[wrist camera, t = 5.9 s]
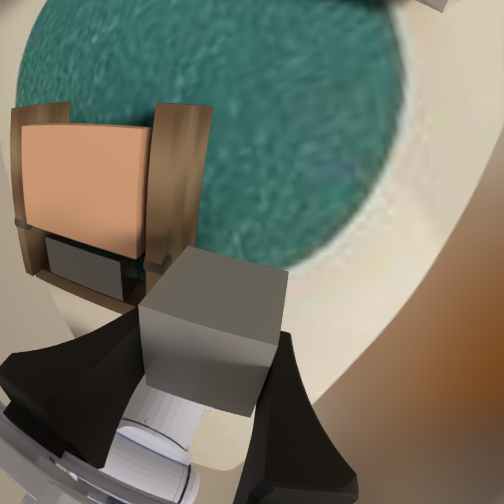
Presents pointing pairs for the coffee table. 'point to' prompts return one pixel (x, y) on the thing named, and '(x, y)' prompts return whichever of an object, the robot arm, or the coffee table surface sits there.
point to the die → (439, 4)
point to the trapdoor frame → (158, 195)
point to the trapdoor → (88, 199)
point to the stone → (212, 329)
